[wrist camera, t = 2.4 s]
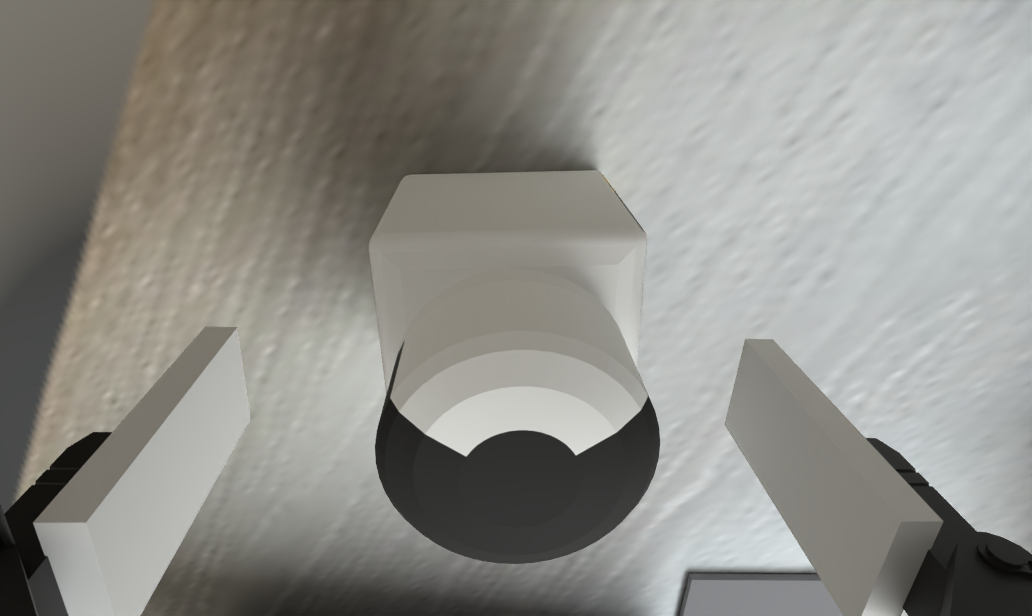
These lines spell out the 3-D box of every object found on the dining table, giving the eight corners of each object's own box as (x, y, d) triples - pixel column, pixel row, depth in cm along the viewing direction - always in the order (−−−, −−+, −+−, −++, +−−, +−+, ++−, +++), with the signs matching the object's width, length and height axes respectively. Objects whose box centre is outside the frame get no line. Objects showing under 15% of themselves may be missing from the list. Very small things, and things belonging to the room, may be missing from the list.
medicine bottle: (595, 344, 25) (678, 597, 14) (417, 350, 25) (362, 612, 14) (603, 167, 22) (717, 316, 11) (400, 172, 22) (314, 329, 11)
